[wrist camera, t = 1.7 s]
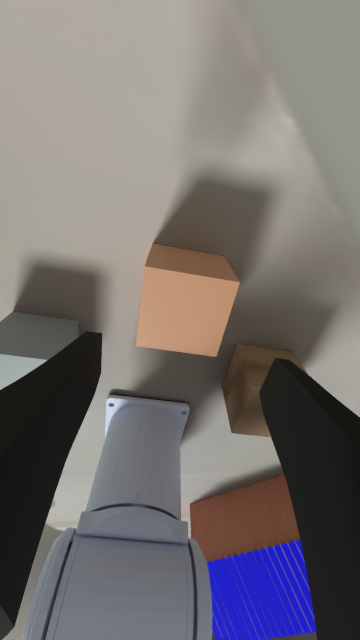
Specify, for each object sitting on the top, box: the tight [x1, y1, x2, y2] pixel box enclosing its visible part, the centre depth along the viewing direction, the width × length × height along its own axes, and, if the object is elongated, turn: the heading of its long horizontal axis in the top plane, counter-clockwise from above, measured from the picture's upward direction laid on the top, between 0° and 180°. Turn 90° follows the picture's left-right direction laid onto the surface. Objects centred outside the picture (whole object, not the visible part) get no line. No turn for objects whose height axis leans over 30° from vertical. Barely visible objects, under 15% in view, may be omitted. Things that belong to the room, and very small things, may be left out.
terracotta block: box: [136, 243, 240, 357], centre depth 16 cm, size 5×5×5 cm
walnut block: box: [222, 344, 307, 437], centre depth 20 cm, size 5×5×5 cm
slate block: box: [0, 311, 80, 390], centre depth 19 cm, size 5×5×5 cm
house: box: [190, 475, 316, 640], centre depth 30 cm, size 12×20×12 cm, turn 122°
